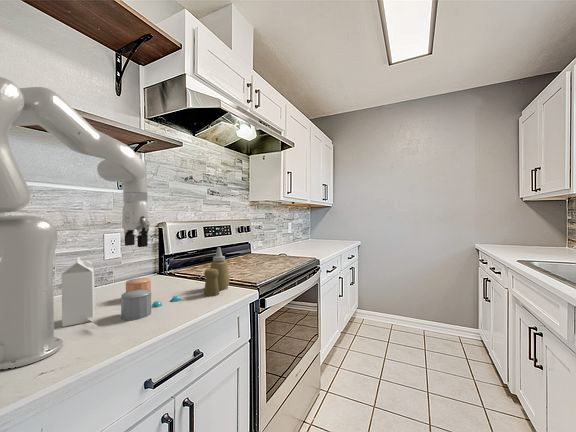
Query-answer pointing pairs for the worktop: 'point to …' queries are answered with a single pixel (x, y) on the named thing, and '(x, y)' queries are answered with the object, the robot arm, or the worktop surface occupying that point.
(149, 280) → the terracotta cup
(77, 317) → the milk carton
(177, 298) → the marble
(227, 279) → the squeeze bottle
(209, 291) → the olive pepper shaker
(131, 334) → the worktop surface
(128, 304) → the grey faceted cylinder
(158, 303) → the marble
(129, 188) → the robot arm
